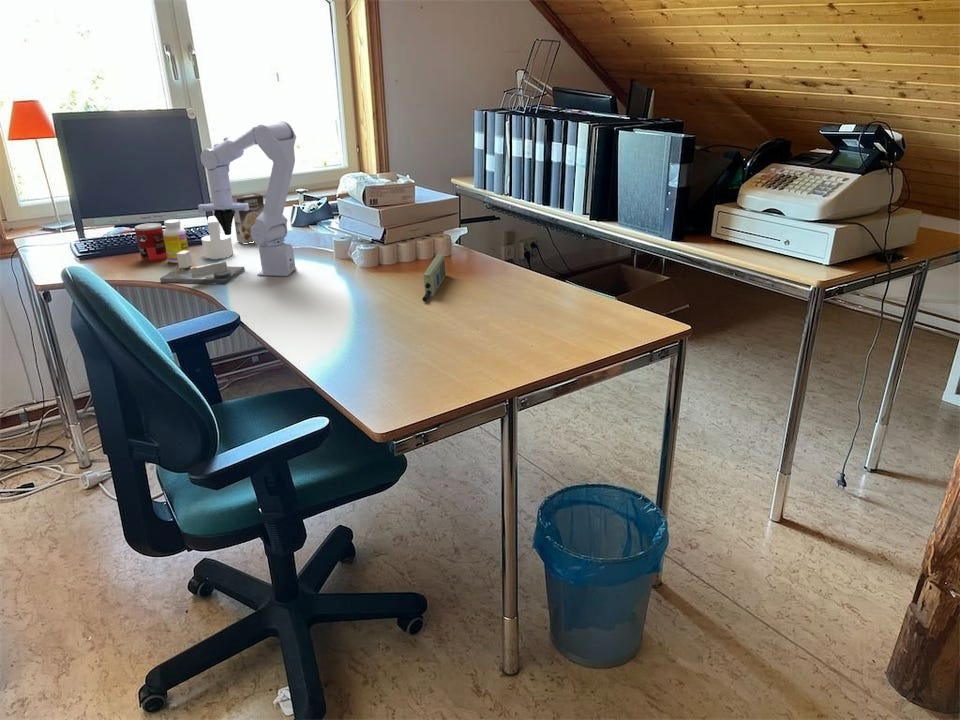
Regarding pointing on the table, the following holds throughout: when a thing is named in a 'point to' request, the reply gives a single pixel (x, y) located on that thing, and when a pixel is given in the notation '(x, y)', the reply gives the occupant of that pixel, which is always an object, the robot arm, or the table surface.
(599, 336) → the table surface
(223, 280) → the console plate
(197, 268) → the selector lever
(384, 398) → the table surface
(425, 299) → the handheld radio
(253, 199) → the coffee box
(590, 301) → the table surface
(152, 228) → the canned food
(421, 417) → the table surface
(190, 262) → the cap
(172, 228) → the supplement bottle
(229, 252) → the base with upright slab
